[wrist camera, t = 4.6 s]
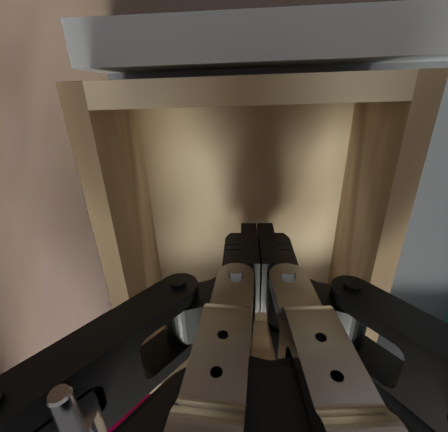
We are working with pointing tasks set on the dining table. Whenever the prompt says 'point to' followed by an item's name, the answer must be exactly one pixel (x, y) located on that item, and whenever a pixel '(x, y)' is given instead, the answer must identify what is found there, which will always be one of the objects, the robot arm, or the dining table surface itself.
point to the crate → (251, 171)
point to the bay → (300, 63)
